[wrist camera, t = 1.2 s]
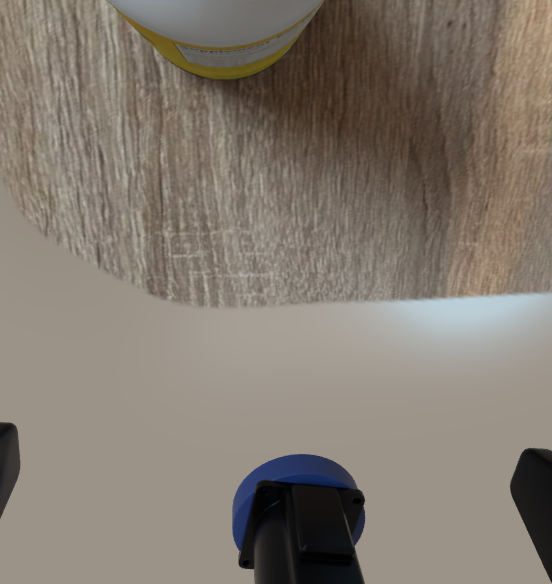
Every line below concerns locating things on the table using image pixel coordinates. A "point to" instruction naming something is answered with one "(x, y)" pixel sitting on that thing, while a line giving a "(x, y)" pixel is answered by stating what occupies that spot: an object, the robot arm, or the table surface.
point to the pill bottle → (220, 32)
